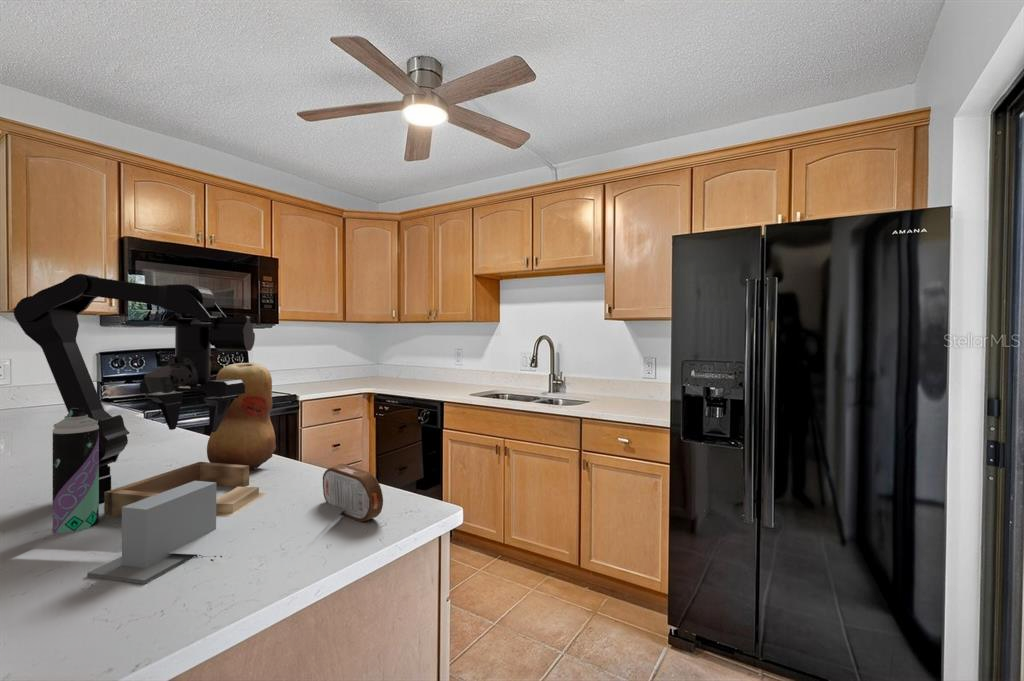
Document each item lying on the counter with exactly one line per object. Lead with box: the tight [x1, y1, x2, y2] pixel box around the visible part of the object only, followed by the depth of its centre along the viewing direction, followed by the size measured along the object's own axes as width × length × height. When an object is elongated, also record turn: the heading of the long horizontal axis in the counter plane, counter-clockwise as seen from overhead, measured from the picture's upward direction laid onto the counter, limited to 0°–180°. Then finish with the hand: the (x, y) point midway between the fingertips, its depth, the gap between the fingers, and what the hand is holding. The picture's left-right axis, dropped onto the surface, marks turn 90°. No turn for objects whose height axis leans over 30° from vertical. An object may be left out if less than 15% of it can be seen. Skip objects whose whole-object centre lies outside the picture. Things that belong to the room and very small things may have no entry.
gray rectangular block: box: [121, 481, 217, 568], centre depth 71 cm, size 4×12×8 cm, turn 169°
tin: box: [322, 463, 384, 523], centre depth 87 cm, size 15×3×8 cm, turn 53°
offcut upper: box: [216, 486, 260, 513], centre depth 88 cm, size 4×9×2 cm, turn 1°
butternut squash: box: [206, 362, 277, 471], centre depth 111 cm, size 14×13×25 cm
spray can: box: [52, 408, 100, 535], centre depth 77 cm, size 6×6×20 cm
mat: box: [86, 553, 198, 585], centre depth 71 cm, size 9×17×1 cm, turn 169°
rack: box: [103, 461, 250, 518], centre depth 90 cm, size 12×20×5 cm, turn 169°
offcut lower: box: [216, 492, 268, 517], centre depth 88 cm, size 5×12×2 cm, turn 178°
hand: (192, 430), depth 94 cm, fingers open, 9 cm apart
